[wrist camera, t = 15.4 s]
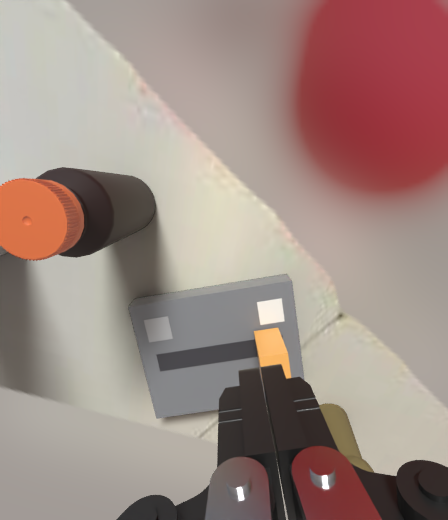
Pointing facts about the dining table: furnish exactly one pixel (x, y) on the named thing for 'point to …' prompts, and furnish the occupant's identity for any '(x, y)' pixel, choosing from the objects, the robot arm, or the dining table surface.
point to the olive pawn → (343, 435)
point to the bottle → (71, 212)
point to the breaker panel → (210, 339)
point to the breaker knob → (272, 349)
